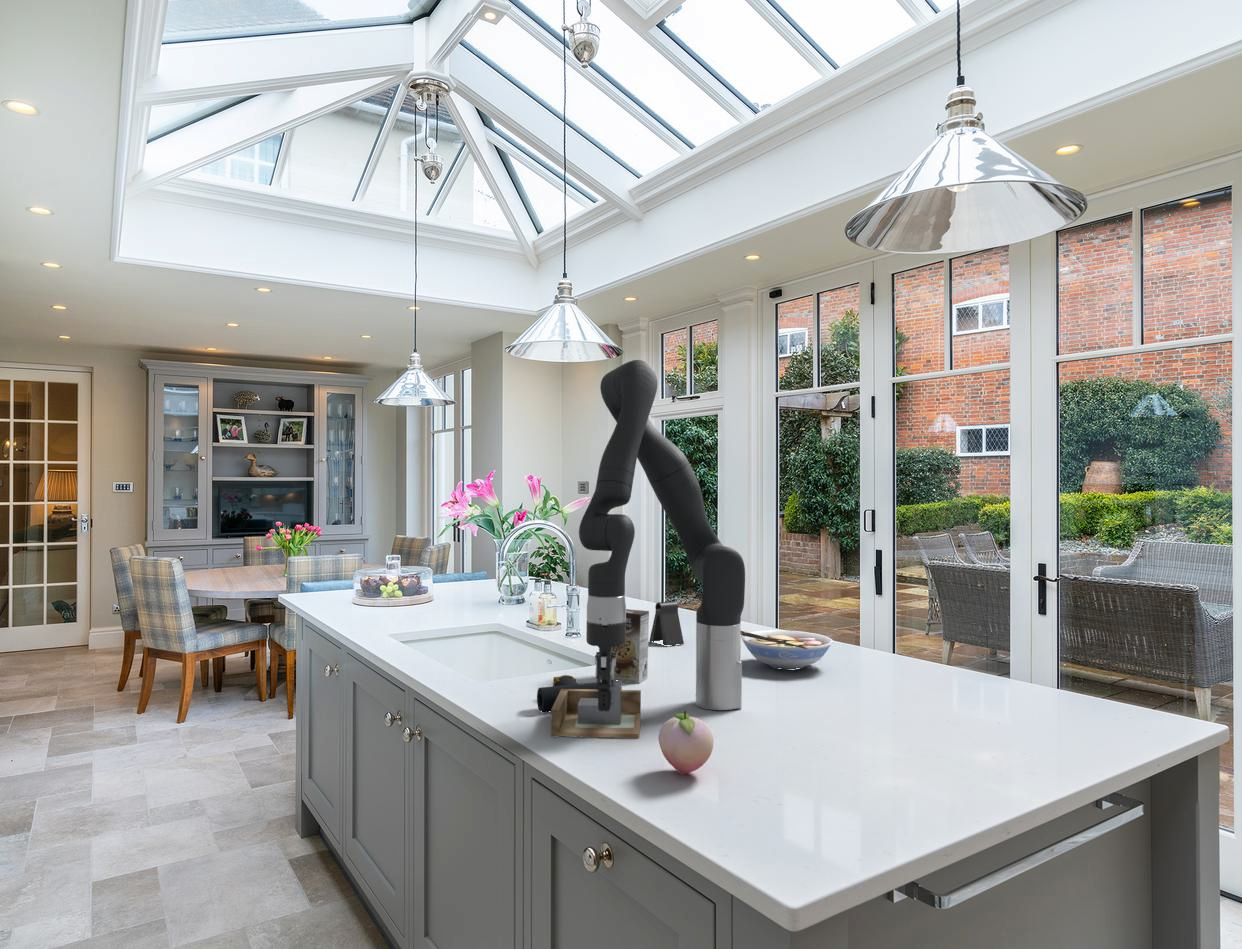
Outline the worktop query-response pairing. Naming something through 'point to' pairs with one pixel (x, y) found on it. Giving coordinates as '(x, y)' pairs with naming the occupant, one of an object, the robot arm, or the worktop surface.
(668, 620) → the dark folding stand
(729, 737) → the worktop surface
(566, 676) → the pipe connector
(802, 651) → the ramen bowl
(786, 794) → the worktop surface
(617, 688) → the angle bracket
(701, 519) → the robot arm
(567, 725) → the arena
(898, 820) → the worktop surface
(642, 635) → the coffee box
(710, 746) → the decorative fruit
